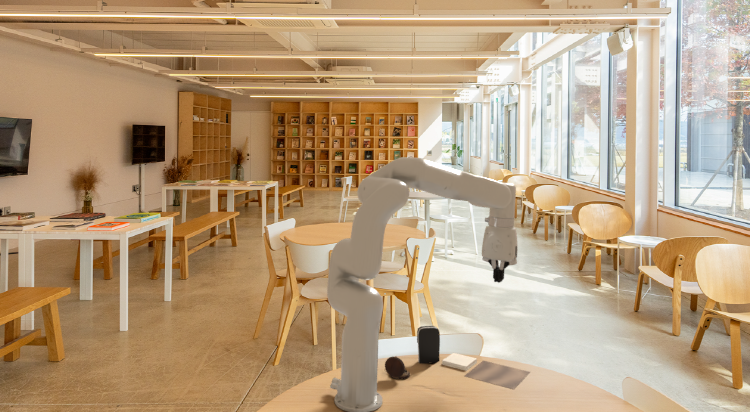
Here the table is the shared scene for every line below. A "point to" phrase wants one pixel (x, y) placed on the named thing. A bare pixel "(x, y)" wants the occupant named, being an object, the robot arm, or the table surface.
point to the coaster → (459, 361)
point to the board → (498, 374)
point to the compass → (396, 368)
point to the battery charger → (428, 344)
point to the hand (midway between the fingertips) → (498, 281)
